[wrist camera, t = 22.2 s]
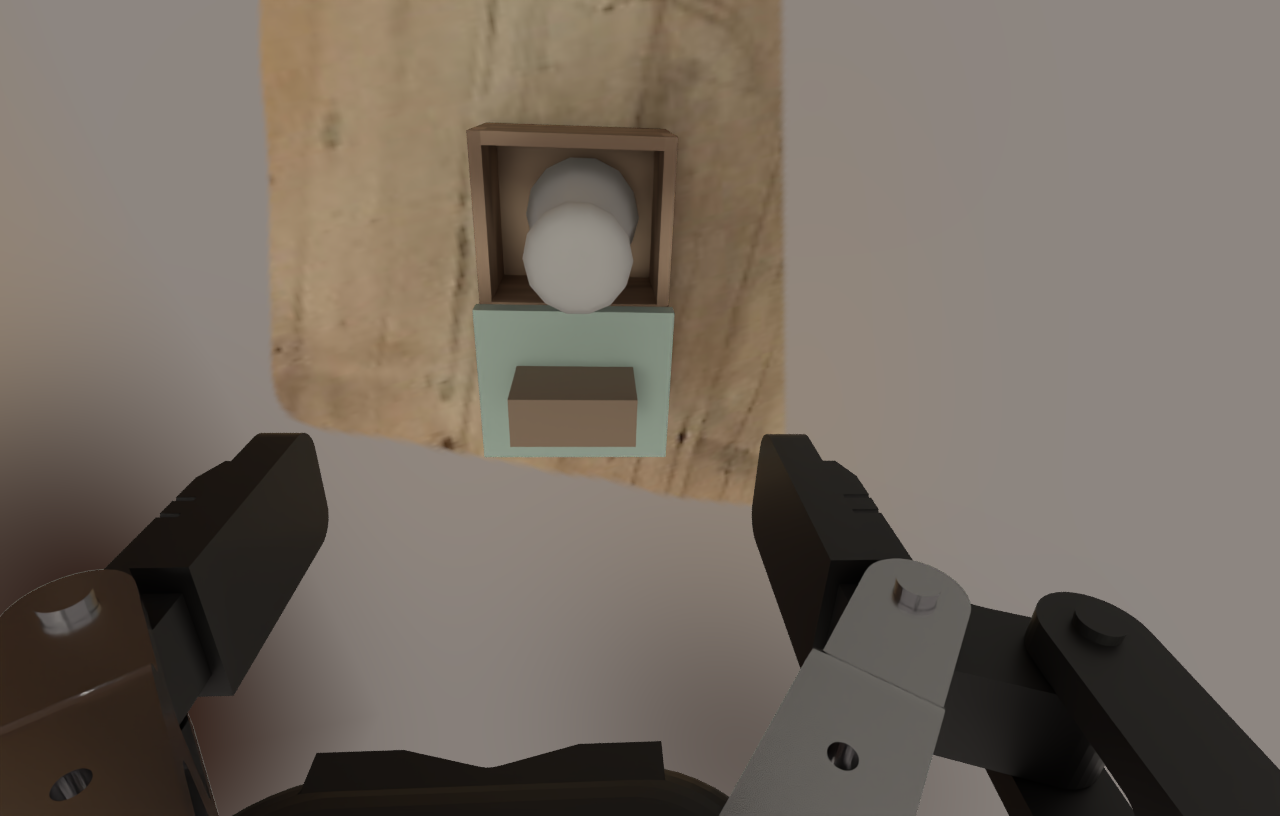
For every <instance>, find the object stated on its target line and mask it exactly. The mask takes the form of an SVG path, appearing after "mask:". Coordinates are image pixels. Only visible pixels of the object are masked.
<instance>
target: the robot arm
mask: <svg viewBox="0 0 1280 816" xmlns="http://www.w3.org/2000/svg"><path fill="white" fill-rule="evenodd" d="M868 495H869V494H868V493H867V491H866V490H865V488H864V487H863V485H862V484H861V482H860V481H859V479H858V478H857V476H856V475H854V474H853V473H851V472H850V471H849V470H847V469H846V468H844V467H843V466H842V465H840V464H839V463H837V462H836V461H823V460H822V459H821V457H820V456H819V454H818V452H817V451H816V449H815V447H814V446H813V444H812V442H811V441H810V439H809V437H808V436H807V435H805V434H766V435H764V437H763V438H762V441H761V446H760V453H759V460H758V467H757V474H756V482H755V489H754V496H753V504H752V526H753V533H754V538H755V541H756V544H757V547H758V550H759V552H760V555H761V558H762V561H763V564H764V566H765V569H766V572H767V575H768V578H769V581H770V584H771V586H772V589H773V592H774V595H775V598H776V600H777V603H778V606H779V609H780V612H781V615H782V618H783V620H784V623H785V626H786V629H787V631H788V635H789V637H790V640H791V643H792V646H793V648H794V652H795V654H796V657H797V660H798V663H799V666H800V671H799V673H798V675H797V677H796V678H795V680H794V682H793V684H792V685H791V687H790V689H789V691H788V693H787V694H786V696H785V698H784V700H783V702H782V703H781V705H780V707H779V709H778V711H777V712H776V714H775V716H774V718H773V720H772V721H771V723H770V725H769V727H768V729H767V730H766V732H765V734H764V736H763V737H762V739H761V741H760V743H759V745H758V746H757V748H756V750H755V752H754V754H753V756H752V757H751V759H750V761H749V763H748V764H747V766H746V768H745V770H744V772H743V774H742V775H741V777H740V779H739V781H738V782H737V784H736V786H735V788H734V790H733V791H732V793H731V795H730V797H728V796H727V795H726V794H724V793H722V792H721V791H719V790H718V789H716V788H714V787H712V786H710V785H708V784H706V783H704V782H702V781H700V780H698V779H696V778H693V777H690V776H687V775H684V774H682V773H679V772H675V771H670V770H666V769H664V764H663V754H662V745H661V741H656V742H626V743H595V744H578V745H574V746H570V747H567V748H563V749H560V750H556V751H552V752H549V753H545V754H541V755H538V756H534V757H530V758H527V759H523V760H519V761H516V762H512V763H508V764H505V765H501V766H497V767H491V768H485V767H478V766H474V765H469V764H464V763H460V762H455V761H451V760H446V759H442V758H437V757H433V756H428V755H424V754H419V753H415V752H410V751H406V750H393V751H363V752H337V753H336V752H333V753H317V754H316V756H315V758H314V760H313V763H312V766H311V768H310V770H309V773H308V775H307V777H306V780H305V782H304V784H303V785H299V786H296V787H293V788H290V789H287V790H285V791H282V792H279V793H277V794H275V795H272V796H269V797H267V798H265V799H263V800H261V801H259V802H257V803H255V804H252V805H251V806H248V807H246V808H245V809H243V810H241V811H240V812H238V813H236V814H234V815H233V816H916V813H917V810H918V806H919V803H920V799H921V796H922V792H923V788H924V785H925V781H926V778H927V774H928V771H929V767H930V763H931V760H932V757H933V755H936V756H941V757H944V758H948V759H951V760H955V761H960V762H963V763H967V764H970V765H974V766H978V767H982V768H985V769H986V771H987V773H988V775H989V777H990V779H991V781H992V783H993V785H994V787H995V789H996V791H997V793H998V795H999V797H1000V799H1001V801H1002V802H1003V804H1004V807H1005V809H1006V810H1007V812H1008V814H1009V816H1280V770H1279V769H1278V768H1277V766H1276V765H1274V763H1273V762H1272V761H1271V760H1270V759H1269V758H1268V757H1267V756H1266V755H1265V754H1264V752H1263V751H1262V750H1261V749H1260V748H1259V747H1258V746H1257V745H1256V744H1255V743H1254V742H1253V741H1252V740H1251V739H1250V738H1249V736H1248V735H1247V734H1246V733H1245V732H1244V731H1243V730H1242V729H1241V728H1240V727H1239V726H1238V725H1237V724H1236V723H1235V721H1234V720H1233V719H1232V718H1231V717H1229V715H1228V714H1227V713H1226V712H1225V711H1224V710H1223V709H1222V708H1221V707H1220V705H1219V704H1217V702H1216V701H1215V700H1214V699H1213V698H1212V697H1211V696H1210V695H1209V694H1208V693H1207V692H1206V690H1205V689H1204V688H1203V687H1202V686H1201V685H1200V684H1199V683H1198V682H1197V681H1196V680H1195V679H1194V678H1193V677H1192V676H1191V674H1190V673H1189V672H1188V671H1187V670H1186V669H1185V668H1184V667H1183V666H1182V665H1181V664H1180V663H1179V662H1178V661H1177V660H1176V658H1175V657H1174V656H1173V655H1172V654H1171V653H1170V652H1169V651H1168V650H1167V649H1166V648H1165V647H1164V646H1163V645H1162V643H1161V642H1160V641H1159V640H1158V639H1157V638H1156V637H1155V636H1154V635H1153V634H1152V633H1151V632H1150V631H1149V630H1148V629H1147V628H1146V627H1145V626H1144V625H1143V624H1142V623H1141V622H1139V621H1138V620H1136V619H1135V618H1134V617H1132V616H1131V615H1129V614H1128V613H1126V612H1125V611H1123V610H1121V609H1120V608H1117V607H1116V606H1114V605H1112V604H1110V603H1107V602H1105V601H1103V600H1100V599H1097V598H1094V597H1091V596H1087V595H1084V594H1078V593H1070V592H1056V593H1051V594H1048V595H1046V596H1044V597H1043V598H1041V599H1040V600H1039V602H1038V603H1037V606H1036V608H1035V611H1034V613H1033V615H1032V618H1031V617H1026V616H1022V615H1017V614H1012V613H1007V612H1003V611H998V610H993V609H988V608H984V607H980V606H976V605H973V604H970V600H969V598H968V595H967V594H966V592H965V591H964V589H963V588H962V587H961V586H960V585H959V584H958V583H957V582H956V581H955V580H954V579H952V578H951V577H950V576H948V575H947V574H945V573H944V572H942V571H940V570H938V569H936V568H934V567H932V566H930V565H927V564H924V563H921V562H918V561H913V560H912V558H911V557H910V555H909V554H908V552H907V551H906V549H905V548H904V547H903V545H902V543H901V542H900V540H899V539H898V537H897V536H896V534H895V533H894V531H893V530H892V528H891V527H890V525H889V524H888V522H887V521H886V520H885V518H884V516H883V515H882V514H881V513H879V512H878V508H877V506H876V505H875V503H874V502H873V500H872V499H871V498H869V496H868ZM327 528H328V506H327V501H326V497H325V492H324V487H323V483H322V478H321V473H320V469H319V464H318V460H317V455H316V451H315V446H314V443H313V440H312V438H311V437H310V436H309V435H308V434H306V433H259V434H257V435H256V436H255V437H254V438H253V439H252V440H251V441H250V442H249V443H248V444H247V445H246V446H245V447H244V448H243V449H242V450H241V451H240V452H239V453H238V454H237V456H236V457H234V459H233V460H232V461H225V462H223V463H221V464H219V465H218V466H216V467H214V468H212V469H210V470H209V471H207V472H205V473H203V474H202V475H200V476H198V477H196V478H195V479H194V480H193V481H192V482H191V483H190V484H189V485H188V486H187V487H186V488H185V489H184V490H183V491H182V492H181V493H180V494H179V495H178V496H177V497H176V501H172V502H171V503H170V504H169V505H168V506H167V507H166V508H165V509H164V510H163V511H162V512H161V513H160V518H155V519H154V520H153V521H152V522H151V523H150V524H149V525H148V526H147V527H146V528H145V529H144V530H143V531H142V532H141V533H140V534H139V535H138V536H137V537H136V538H135V539H134V540H133V541H132V542H131V543H130V544H129V545H128V546H127V547H126V548H125V549H124V550H123V551H122V552H121V553H120V554H119V555H118V556H117V557H116V558H115V559H114V560H113V561H112V562H111V563H110V564H109V565H108V566H107V567H106V568H105V569H104V570H92V571H86V572H81V573H77V574H73V575H70V576H66V577H63V578H60V579H58V580H55V581H52V582H50V583H48V584H45V585H43V586H41V587H39V588H37V589H35V590H33V591H32V592H30V593H28V594H26V595H25V596H23V597H22V598H20V599H19V600H17V601H16V602H15V603H14V604H12V605H11V606H10V607H9V608H8V609H7V610H6V611H4V612H3V614H2V615H1V616H0V816H219V815H218V811H217V807H216V804H215V800H214V797H213V793H212V790H211V786H210V783H209V779H208V776H207V772H206V769H205V766H204V762H203V759H202V755H201V752H200V748H199V745H198V741H197V738H196V734H195V731H194V727H193V724H192V722H191V719H190V717H189V715H188V711H189V710H190V708H191V706H192V705H193V703H194V702H195V700H196V699H197V697H200V696H233V695H234V694H235V692H236V691H237V689H238V687H239V685H240V684H241V682H242V680H243V678H244V677H245V675H246V674H247V672H248V670H249V668H250V667H251V665H252V663H253V662H254V660H255V658H256V657H257V655H258V653H259V651H260V649H261V648H262V646H263V644H264V643H265V641H266V639H267V638H268V636H269V634H270V632H271V631H272V629H273V628H274V626H275V624H276V622H277V621H278V619H279V617H280V616H281V614H282V612H283V610H284V609H285V607H286V605H287V604H288V602H289V600H290V599H291V597H292V595H293V593H294V592H295V590H296V588H297V586H298V585H299V583H300V581H301V580H302V578H303V576H304V575H305V573H306V571H307V570H308V568H309V566H310V564H311V563H312V561H313V559H314V558H315V556H316V554H317V552H318V551H319V549H320V547H321V546H322V544H323V542H324V540H325V537H326V533H327ZM1104 766H1106V767H1107V769H1108V770H1109V771H1110V773H1111V774H1112V776H1113V777H1114V779H1115V780H1116V782H1117V783H1118V785H1119V786H1120V788H1121V789H1122V790H1123V792H1124V793H1125V795H1126V797H1127V798H1128V800H1129V802H1130V804H1131V806H1132V808H1131V807H1130V805H1129V804H1128V802H1127V801H1126V799H1125V798H1124V796H1123V795H1122V793H1121V792H1120V791H1119V789H1118V787H1117V786H1116V784H1115V783H1114V782H1113V780H1112V779H1111V777H1110V776H1109V774H1108V773H1107V771H1106V770H1105V768H1104Z"/></svg>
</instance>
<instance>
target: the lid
mask: <svg viewBox="0 0 1280 816" xmlns="http://www.w3.org/2000/svg"><path fill="white" fill-rule="evenodd" d="M473 321H474V333H475V346H476V358H477V370H478V382H479V395H480V407H481V419H482V431H483V444H484V456H485V457H665V456H666V440H667V424H668V409H669V393H670V377H671V361H672V345H673V329H674V310H673V308H672V307H635V306H607V307H604V308H602V309H600V310H597V311H595V312H593V313H590V314H566V313H564V312H562V311H560V310H558V309H556V308H554V307H552V306H549V305H506V304H476V305H475V307H474V309H473Z"/></svg>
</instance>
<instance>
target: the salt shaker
mask: <svg viewBox="0 0 1280 816" xmlns="http://www.w3.org/2000/svg"><path fill="white" fill-rule="evenodd" d="M526 216H527V220H528V224H529V228H530V230H529V232H528V233H527V236H526V242H525V247H524V253H523V262H524V266H525V270H526V274H527V278H528V282H529V285H530V286H531V288H532V289H533V290H534V291H535V292H536V293H537V294H538V296H539V297H540V298H541V299H542V300H543V301H544V303H545V304H547V305H549V306H552V307H554V308H556V309H558V310H560V311H562V312H564V313H566V314H590V313H593V312H595V311H597V310H600V309H602V308H604V307H607V306H609V305H611V304H612V303H613V301H614V300H615V299H616V298H617V297H618V295H619V294H620V293H621V292H622V291H623V289H624V288H625V287H626V285H627V282H628V279H629V275H630V271H631V268H632V264H633V257H632V252H631V247H630V244H631V243H632V241H633V237H634V234H635V230H636V227H637V223H638V220H639V215H638V211H637V206H636V201H635V196H634V192H633V191H632V189H631V188H630V186H629V185H628V183H627V182H626V180H625V179H624V177H623V176H622V175H621V173H620V172H619V171H618V170H616V169H614V168H612V167H611V166H609V165H607V164H605V163H603V162H601V161H599V160H597V159H594V158H573V157H570V158H568V159H566V160H563V161H561V162H559V163H557V164H555V165H553V166H551V167H549V168H547V169H546V170H545V171H544V173H543V174H542V175H541V176H540V178H539V179H538V180H537V182H536V183H535V184H534V186H533V187H532V188H531V191H530V196H529V202H528V207H527V212H526Z"/></svg>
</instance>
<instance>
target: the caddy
mask: <svg viewBox="0 0 1280 816" xmlns="http://www.w3.org/2000/svg"><path fill="white" fill-rule="evenodd" d="M466 132H467V145H468V158H469V171H470V184H471V197H472V210H473V223H474V236H475V249H476V262H477V275H478V288H479V301H480V304H506V305H547V304H545V303H544V301H543V300H542V299H541V298H540V297H539V296H538V294H537V293H536V292H535V291H534V290H533V289H532V288H531V286H530V285H529V282H528V278H527V274H526V270H525V266H524V262H523V253H524V247H525V242H526V236H527V233H528V232H529V230H530V228H529V224H528V220H527V216H526V212H527V207H528V202H529V196H530V191H531V188H532V187H533V186H534V184H535V183H536V182H537V180H538V179H539V178H540V176H541V175H542V174H543V173H544V171H545V170H546V169H547V168H549V167H551V166H553V165H555V164H557V163H559V162H561V161H563V160H566V159H568V158H570V157H573V158H594V159H597V160H599V161H601V162H603V163H605V164H607V165H609V166H611V167H612V168H614V169H616V170H618V171H619V172H620V173H621V175H622V176H623V177H624V179H625V180H626V182H627V183H628V185H629V186H630V188H631V189H632V191H633V192H634V196H635V201H636V206H637V211H638V215H639V220H638V223H637V227H636V230H635V234H634V237H633V241H632V243H631V244H630V247H631V252H632V257H633V264H632V268H631V271H630V275H629V279H628V282H627V285H626V287H625V288H624V289H623V291H622V292H621V293H620V294H619V295H618V297H617V298H616V299H615V300H614V301H613V303H612V304H611V305H609V306H635V307H668V304H669V287H670V269H671V252H672V234H673V217H674V200H675V182H676V165H677V147H678V137H677V136H675V135H674V134H672V133H670V132H669V131H667V130H666V129H649V128H621V127H592V126H564V125H535V124H507V123H484V124H482V125H479V126H476V127H474V128H471V129H468V130H466Z"/></svg>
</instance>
